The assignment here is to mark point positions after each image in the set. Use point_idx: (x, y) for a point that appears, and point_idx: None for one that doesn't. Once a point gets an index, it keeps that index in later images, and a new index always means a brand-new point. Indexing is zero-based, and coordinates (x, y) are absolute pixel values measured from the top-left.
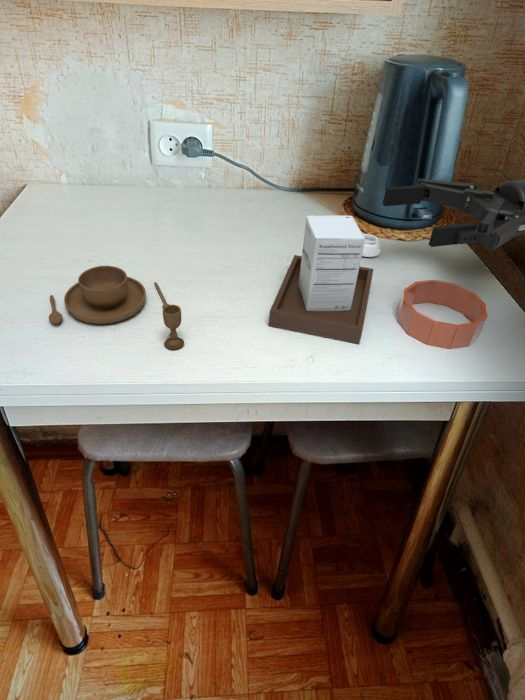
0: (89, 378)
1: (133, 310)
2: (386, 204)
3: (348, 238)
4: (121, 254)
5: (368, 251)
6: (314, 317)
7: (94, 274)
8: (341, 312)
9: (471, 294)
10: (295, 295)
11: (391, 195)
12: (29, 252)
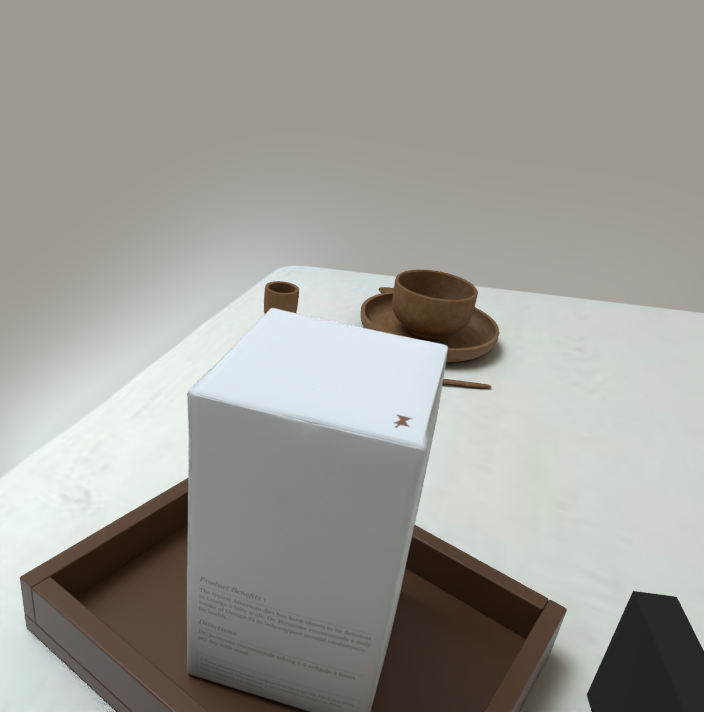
0: (248, 296)
1: (373, 328)
2: (596, 699)
3: (223, 359)
4: (610, 380)
5: None
6: (169, 497)
7: (467, 296)
8: None
9: None
10: None
11: (629, 671)
12: (603, 314)
